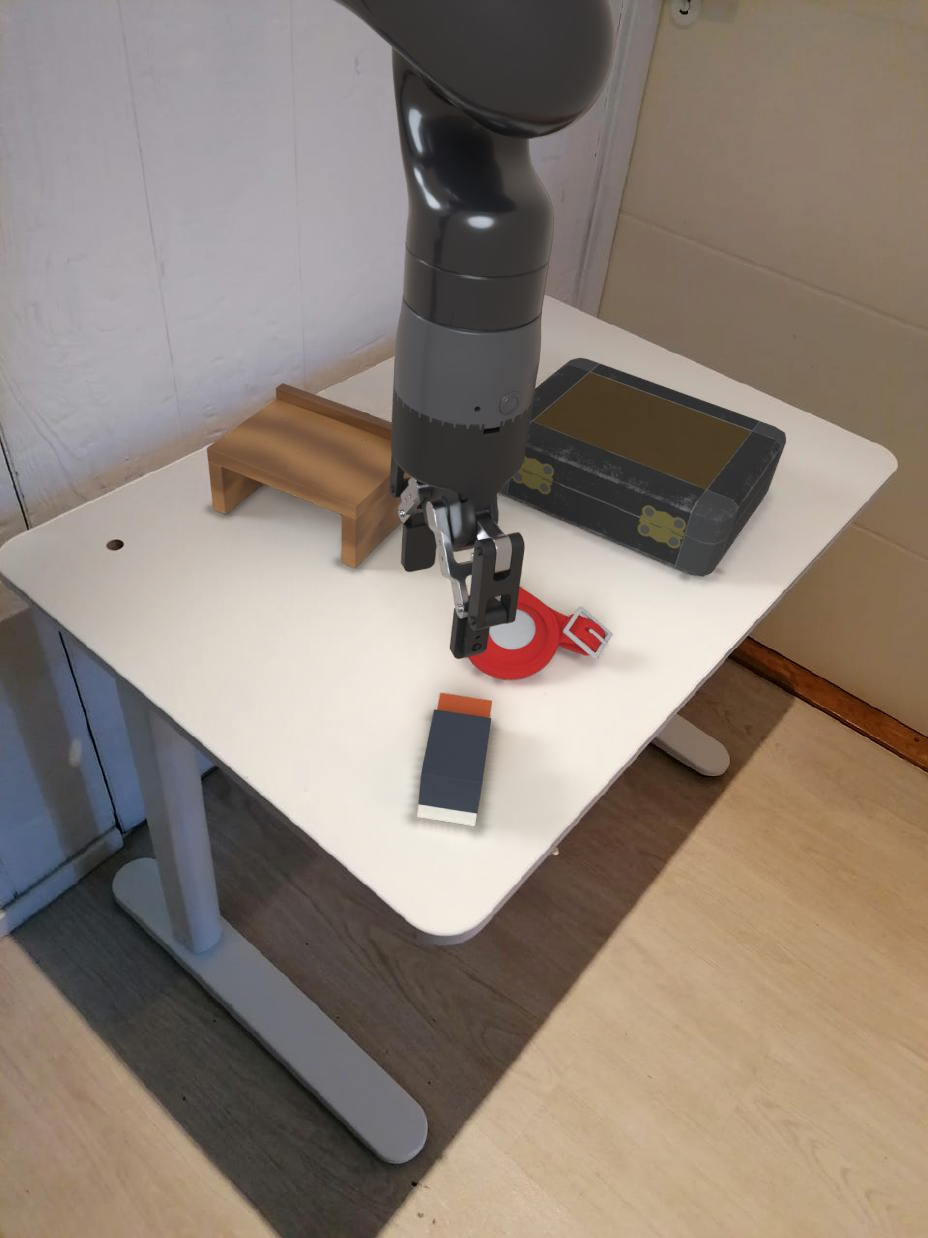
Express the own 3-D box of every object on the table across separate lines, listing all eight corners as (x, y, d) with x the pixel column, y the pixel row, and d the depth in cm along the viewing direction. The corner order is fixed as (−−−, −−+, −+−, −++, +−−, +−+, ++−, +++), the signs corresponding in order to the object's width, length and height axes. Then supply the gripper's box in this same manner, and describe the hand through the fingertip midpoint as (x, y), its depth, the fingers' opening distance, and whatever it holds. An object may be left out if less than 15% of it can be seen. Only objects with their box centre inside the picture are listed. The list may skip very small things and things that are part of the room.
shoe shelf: (355, 568, 89) (356, 495, 83) (212, 509, 93) (205, 436, 88) (419, 504, 97) (424, 433, 91) (285, 453, 101) (282, 382, 96)
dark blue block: (475, 826, 69) (482, 783, 66) (416, 817, 69) (421, 773, 66) (489, 727, 76) (496, 683, 73) (436, 718, 76) (441, 674, 73)
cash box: (772, 488, 105) (795, 426, 100) (705, 585, 91) (728, 519, 86) (567, 409, 113) (578, 348, 108) (478, 488, 100) (486, 423, 94)
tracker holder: (485, 688, 77) (441, 589, 82) (486, 711, 81) (444, 615, 86) (623, 637, 79) (572, 543, 84) (617, 662, 83) (569, 570, 88)
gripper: (354, 327, 55) (350, 552, 66) (450, 465, 45) (428, 700, 56) (475, 315, 57) (452, 532, 68) (590, 442, 48) (542, 671, 59)
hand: (441, 608), depth 62 cm, fingers open, 8 cm apart
